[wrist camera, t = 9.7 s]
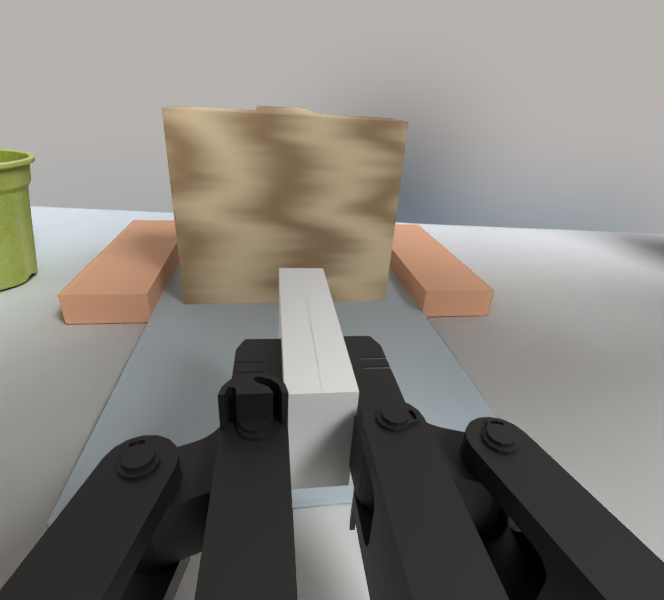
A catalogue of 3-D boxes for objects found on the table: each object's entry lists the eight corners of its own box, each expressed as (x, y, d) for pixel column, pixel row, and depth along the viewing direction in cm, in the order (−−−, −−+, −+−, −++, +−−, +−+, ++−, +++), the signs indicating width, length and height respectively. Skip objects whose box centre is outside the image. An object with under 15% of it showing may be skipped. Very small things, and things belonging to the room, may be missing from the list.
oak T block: (348, 239, 42) (358, 111, 37) (384, 300, 30) (408, 121, 25) (207, 238, 40) (196, 101, 35) (184, 304, 28) (161, 107, 22)
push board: (409, 237, 46) (412, 219, 45) (647, 475, 17) (667, 440, 16) (142, 234, 41) (139, 214, 40) (-125, 546, 13) (-155, 504, 12)
